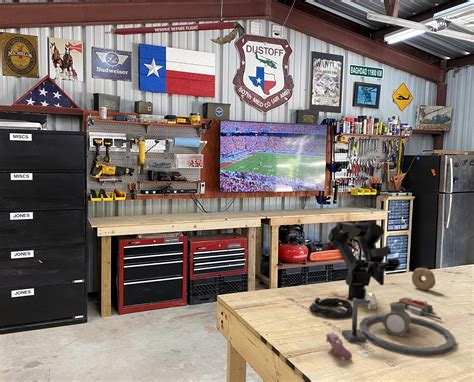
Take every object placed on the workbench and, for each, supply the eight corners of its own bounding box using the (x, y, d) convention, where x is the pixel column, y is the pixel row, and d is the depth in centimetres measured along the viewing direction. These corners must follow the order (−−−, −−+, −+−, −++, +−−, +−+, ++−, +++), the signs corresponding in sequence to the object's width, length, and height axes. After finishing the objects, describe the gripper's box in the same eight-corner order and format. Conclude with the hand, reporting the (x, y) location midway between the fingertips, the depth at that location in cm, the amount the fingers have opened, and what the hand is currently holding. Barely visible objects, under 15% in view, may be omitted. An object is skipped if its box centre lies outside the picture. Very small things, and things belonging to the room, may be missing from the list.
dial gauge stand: (349, 342, 137) (351, 297, 136) (341, 334, 143) (343, 291, 142) (375, 340, 139) (377, 296, 138) (366, 333, 145) (368, 290, 144)
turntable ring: (349, 339, 139) (349, 335, 139) (371, 312, 165) (372, 308, 165) (449, 364, 124) (449, 359, 123) (457, 330, 149) (457, 325, 149)
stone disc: (409, 287, 198) (411, 266, 197) (412, 285, 201) (414, 265, 200) (432, 292, 191) (434, 271, 190) (435, 291, 194) (436, 269, 193)
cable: (358, 312, 165) (359, 302, 165) (344, 323, 154) (345, 312, 153) (319, 303, 175) (319, 292, 175) (303, 312, 164) (303, 301, 164)
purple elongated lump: (330, 350, 135) (321, 331, 134) (342, 344, 135) (334, 325, 134) (340, 365, 125) (330, 345, 124) (353, 358, 125) (344, 338, 124)
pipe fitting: (407, 338, 140) (406, 307, 141) (382, 334, 145) (382, 304, 145) (415, 330, 150) (414, 301, 151) (392, 327, 155) (391, 299, 155)
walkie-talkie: (392, 307, 172) (439, 323, 156) (392, 296, 172) (439, 311, 156) (404, 303, 177) (451, 318, 161) (405, 292, 177) (451, 307, 161)
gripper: (355, 239, 161) (367, 275, 151) (399, 238, 165) (414, 273, 155) (345, 254, 170) (356, 289, 160) (387, 253, 173) (401, 287, 163)
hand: (382, 284), depth 159 cm, fingers closed
